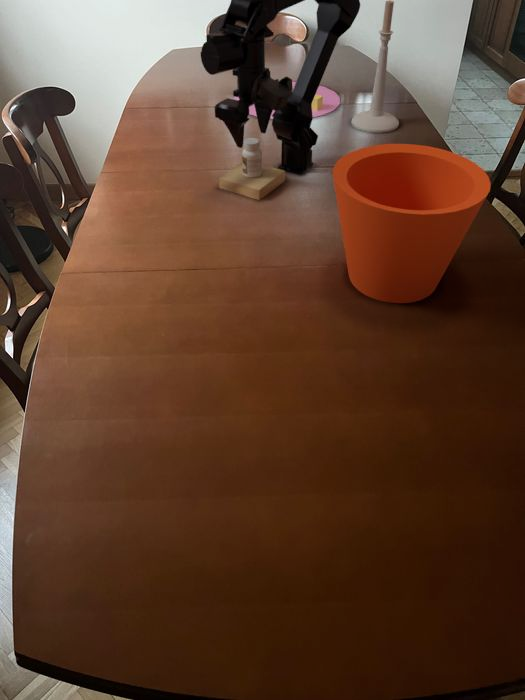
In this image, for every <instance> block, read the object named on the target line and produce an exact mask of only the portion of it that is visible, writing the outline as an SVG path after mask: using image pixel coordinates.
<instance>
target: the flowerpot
mask: <svg viewBox="0 0 525 700" xmlns="http://www.w3.org/2000/svg"><path fill="white" fill-rule="evenodd" d="M332 179H333V184H334V191H335V197H336V198H335V199H336V204H337V211H338V216H339V223H340V229H341V236H342V241H343V242H342V243H343V247H344V254H345V260H346V267H347V274H348V277H349V281H350V283H351V284H352V285H353V287H354V288H355V289H356V290H357V291H358V292H360V293H362V295H364V296H366V297H368V298H371V299H373V300H376V301H380V302H384V303H391V304H410V303H415V302H418V301H421V300H424V299H426V298H428V297H429V296H431V295H432V294H433V293H434V292H435V290H436V289H437V287H438V285H439V283H440V281H441V280H442V278H443V276H444V275H445V273H446V271H447V269H448V267H449V265H450V264H451V261H452V260H453V258H454V256H455V254H456V253H457V250H458V249H459V247H460V246H461V244H462V242H463V240H464V238H465V236H466V235H467V233H468V231H469V230H470V228H471V225H472V224H473V222H474V220H475V218H476V217H477V215H478V213H479V211H480V209H481V207H482V206H483V204H484V202H485V200H486V199H487V197H488V195H489V193H490V192H491V184H492V183H491V179H490V177H489V175H488V174H487V173H486V171H485V170H484V169H483V168H482V167H481V166H480V165H478V164H477V163H475V162H474V161H472V160H470V159H469V158H467V157H465V156H462V155H460V154H458V153H455V152H452V151H449V150H447V149H442V148H439V147H433V146H428V145H422V144H413V143H384V144H375V145H370V146H366V147H365V146H364V147H362V148H358V149H355V150H352V151H350V152H348V153H346V154H345V155H343V156H341V158H339V159H338V160H337V161H336V162H335V164H334V166H333V169H332Z"/></svg>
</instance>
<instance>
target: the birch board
mask: <svg viewBox="0 0 525 700" xmlns="http://www.w3.org/2000/svg"><path fill="white" fill-rule="evenodd" d="M285 181H286V171H285V170H281V169H278V167H272V166H269V165H266V164H262V174H261V175H260V176H259V177H255V178H249V177H246V176H244V175H243V164H242V162H240V163H238V164H237V165H235V166H234V167H232V168H231V169H229V170H228V171H226V172H225V173H224V174H222V175H221V176H219V177H218V189H221V190H224V191H228V192H231V193H235V194H238V195H241V196H243V197H247V198H250V199H253V200H257V201H261V200H262V199H263V198H264V197H266V196H267V195H268V194H270V193H272V191H274V190H275V189H276V188H278V187H279V186H280V185H281V184H283V183H284V182H285Z"/></svg>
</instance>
